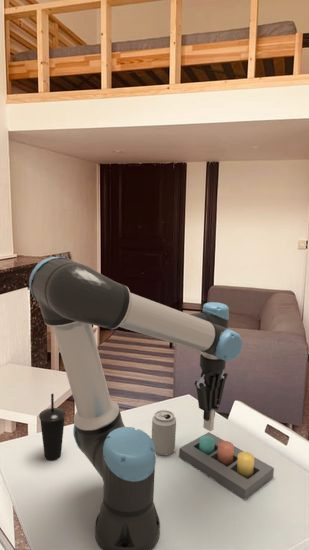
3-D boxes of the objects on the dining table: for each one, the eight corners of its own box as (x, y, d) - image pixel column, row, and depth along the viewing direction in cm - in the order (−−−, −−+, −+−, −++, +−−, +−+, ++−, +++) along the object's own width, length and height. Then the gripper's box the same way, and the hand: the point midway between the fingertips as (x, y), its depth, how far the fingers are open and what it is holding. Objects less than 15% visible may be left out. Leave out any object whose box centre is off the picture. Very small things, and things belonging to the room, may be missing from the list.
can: (172, 458, 123) (174, 422, 121) (148, 454, 124) (150, 418, 122) (176, 444, 130) (178, 410, 128) (153, 441, 131) (155, 406, 129)
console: (244, 500, 106) (245, 489, 106) (178, 457, 123) (179, 448, 123) (273, 477, 116) (273, 467, 115) (208, 440, 133) (208, 432, 132)
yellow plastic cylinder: (246, 480, 111) (248, 463, 110) (233, 471, 114) (234, 455, 113) (256, 473, 114) (257, 457, 113) (242, 465, 117) (243, 449, 116)
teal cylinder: (207, 460, 121) (208, 445, 120) (195, 453, 124) (196, 439, 124) (216, 454, 124) (217, 440, 123) (205, 448, 128) (206, 433, 127)
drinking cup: (46, 467, 116) (46, 402, 113) (35, 454, 122) (34, 392, 119) (70, 457, 121) (70, 395, 118) (58, 445, 127) (57, 386, 124)
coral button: (226, 467, 116) (227, 452, 115) (213, 460, 119) (214, 444, 118) (235, 461, 119) (237, 445, 118) (223, 454, 122) (224, 439, 121)
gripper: (208, 364, 112) (204, 441, 116) (236, 353, 121) (231, 426, 124) (188, 356, 117) (184, 430, 121) (216, 346, 126) (212, 416, 130)
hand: (208, 428), depth 123 cm, fingers closed
